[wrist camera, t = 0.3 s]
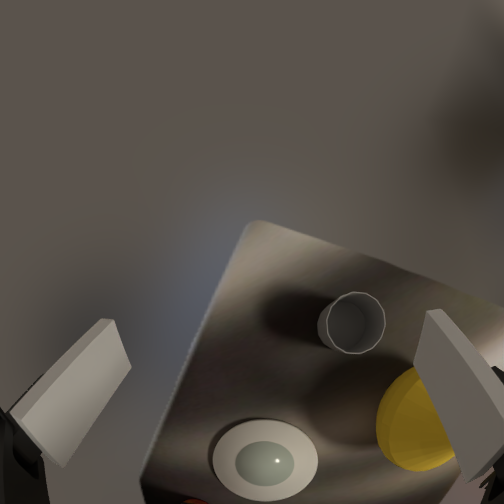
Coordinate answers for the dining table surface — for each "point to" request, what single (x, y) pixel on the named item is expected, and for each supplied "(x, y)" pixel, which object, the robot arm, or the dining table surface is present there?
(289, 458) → the plate
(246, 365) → the dining table surface
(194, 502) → the canned food
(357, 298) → the cup
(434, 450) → the vase
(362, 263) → the dining table surface
